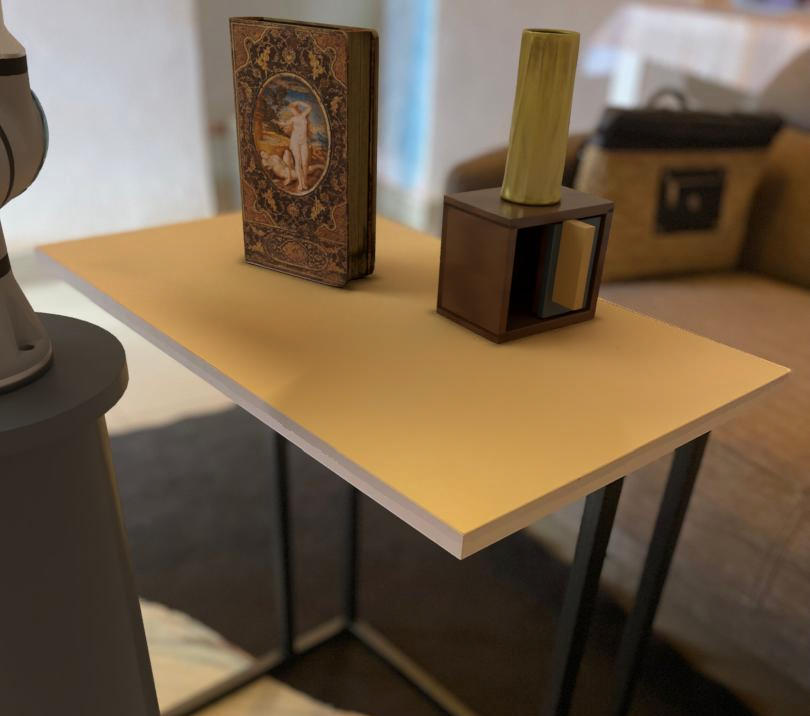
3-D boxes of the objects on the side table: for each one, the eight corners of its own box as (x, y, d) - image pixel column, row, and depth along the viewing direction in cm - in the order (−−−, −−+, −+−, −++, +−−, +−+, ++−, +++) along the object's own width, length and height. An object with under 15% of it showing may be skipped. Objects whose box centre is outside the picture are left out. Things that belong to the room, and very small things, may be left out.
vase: (497, 203, 81) (514, 31, 73) (502, 188, 86) (519, 26, 78) (560, 208, 80) (585, 35, 72) (562, 194, 85) (586, 30, 77)
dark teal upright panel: (536, 316, 87) (550, 219, 81) (580, 305, 90) (596, 211, 84) (563, 328, 84) (579, 229, 78) (607, 317, 87) (625, 221, 82)
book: (237, 260, 101) (220, 17, 87) (268, 250, 105) (256, 15, 90) (346, 290, 94) (347, 31, 80) (374, 278, 98) (380, 29, 83)
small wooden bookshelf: (435, 312, 90) (443, 194, 83) (531, 290, 97) (545, 180, 90) (497, 343, 83) (511, 219, 76) (594, 318, 90) (615, 202, 83)
